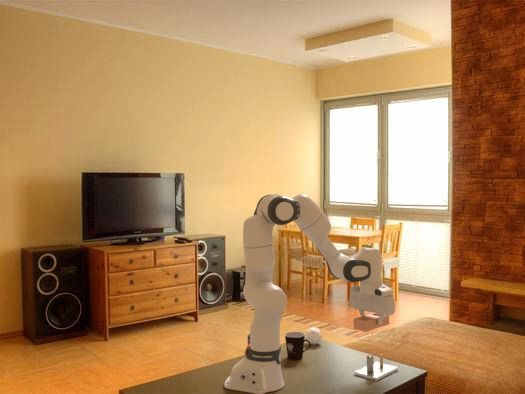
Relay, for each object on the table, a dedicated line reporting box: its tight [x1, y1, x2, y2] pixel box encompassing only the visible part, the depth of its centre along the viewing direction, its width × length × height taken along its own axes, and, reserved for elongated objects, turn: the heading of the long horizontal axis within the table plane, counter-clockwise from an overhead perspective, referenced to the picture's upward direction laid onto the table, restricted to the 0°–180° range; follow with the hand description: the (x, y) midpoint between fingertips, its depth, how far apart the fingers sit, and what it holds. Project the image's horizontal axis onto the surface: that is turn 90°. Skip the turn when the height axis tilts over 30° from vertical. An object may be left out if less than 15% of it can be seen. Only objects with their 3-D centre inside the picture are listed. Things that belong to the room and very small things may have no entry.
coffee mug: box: [284, 331, 311, 361], centre depth 230 cm, size 12×9×10 cm
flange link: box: [353, 312, 390, 333], centre depth 213 cm, size 15×6×4 cm, turn 130°
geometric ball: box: [304, 327, 323, 346], centre depth 250 cm, size 8×8×8 cm
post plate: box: [353, 353, 399, 382], centre depth 212 cm, size 16×10×8 cm, turn 136°
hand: (371, 322), depth 213 cm, fingers closed on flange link, 6 cm apart
